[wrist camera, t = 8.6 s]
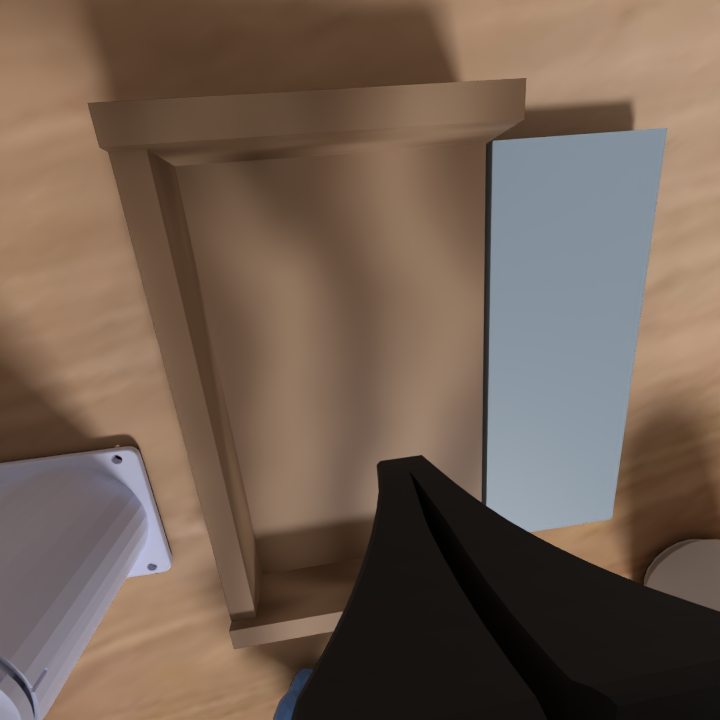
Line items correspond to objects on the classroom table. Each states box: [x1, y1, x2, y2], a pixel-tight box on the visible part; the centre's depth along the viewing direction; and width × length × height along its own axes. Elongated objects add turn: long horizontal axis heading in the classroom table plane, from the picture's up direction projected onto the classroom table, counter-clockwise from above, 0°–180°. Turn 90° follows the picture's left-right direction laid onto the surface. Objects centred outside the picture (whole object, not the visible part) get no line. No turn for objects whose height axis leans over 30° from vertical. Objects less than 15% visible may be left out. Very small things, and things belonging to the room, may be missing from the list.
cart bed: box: [88, 78, 526, 649], centre depth 17 cm, size 14×23×4 cm, turn 5°
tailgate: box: [482, 128, 667, 532], centre depth 19 cm, size 1×21×8 cm
